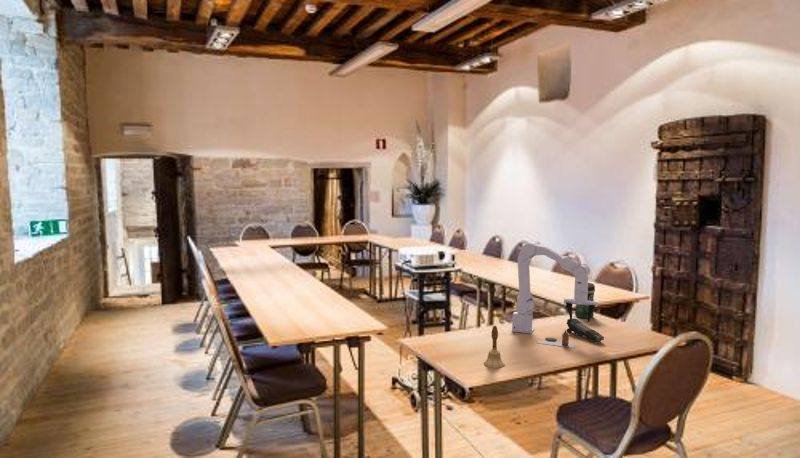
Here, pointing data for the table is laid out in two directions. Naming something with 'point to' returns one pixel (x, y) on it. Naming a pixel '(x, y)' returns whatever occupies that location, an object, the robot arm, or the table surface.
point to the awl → (565, 338)
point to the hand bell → (494, 352)
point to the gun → (583, 330)
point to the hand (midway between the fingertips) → (579, 320)
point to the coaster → (551, 339)
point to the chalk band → (555, 344)
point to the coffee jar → (583, 309)
